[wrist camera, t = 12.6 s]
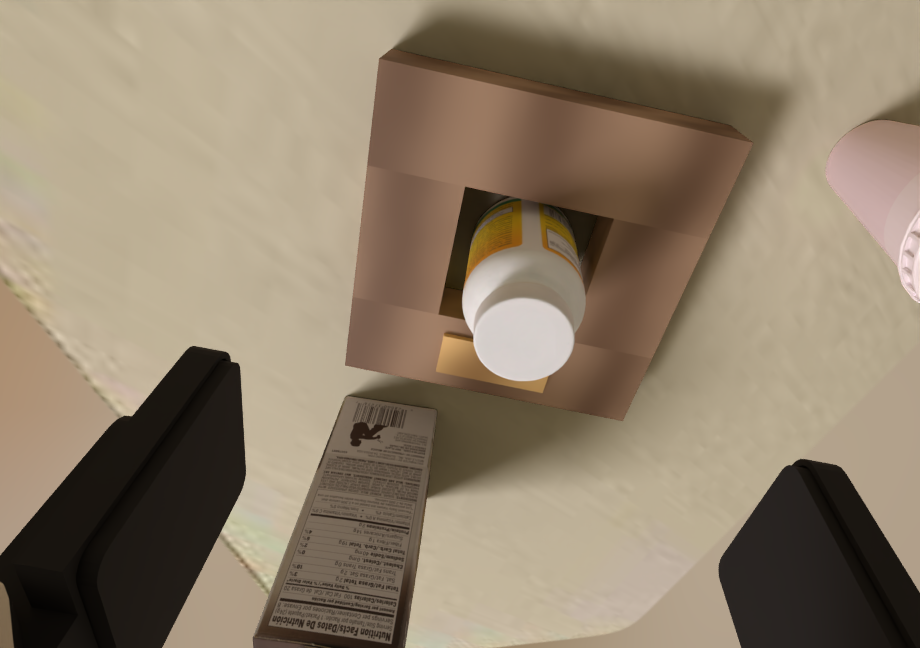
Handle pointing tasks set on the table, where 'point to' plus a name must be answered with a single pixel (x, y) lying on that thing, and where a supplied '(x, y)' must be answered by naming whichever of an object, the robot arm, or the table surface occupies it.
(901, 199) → the smoothie
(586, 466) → the table surface
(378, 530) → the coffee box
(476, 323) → the supplement bottle
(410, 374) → the socket block
